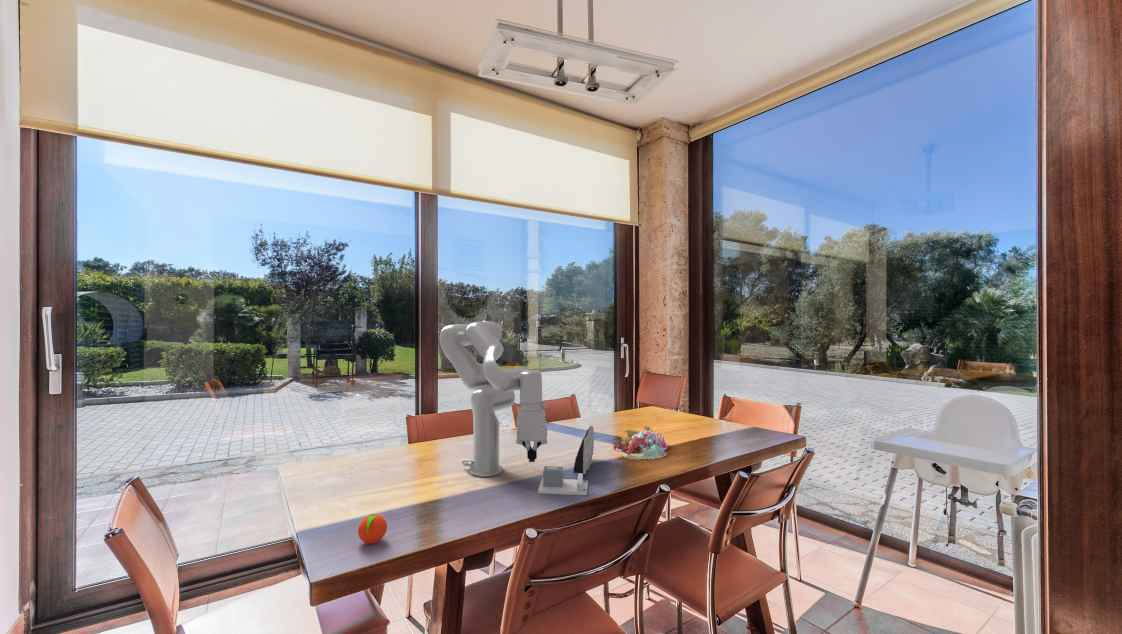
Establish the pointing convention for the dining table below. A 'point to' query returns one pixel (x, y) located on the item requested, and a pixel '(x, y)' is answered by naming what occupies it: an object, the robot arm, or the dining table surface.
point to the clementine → (372, 528)
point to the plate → (567, 487)
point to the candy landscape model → (641, 444)
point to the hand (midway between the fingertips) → (532, 461)
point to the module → (553, 476)
